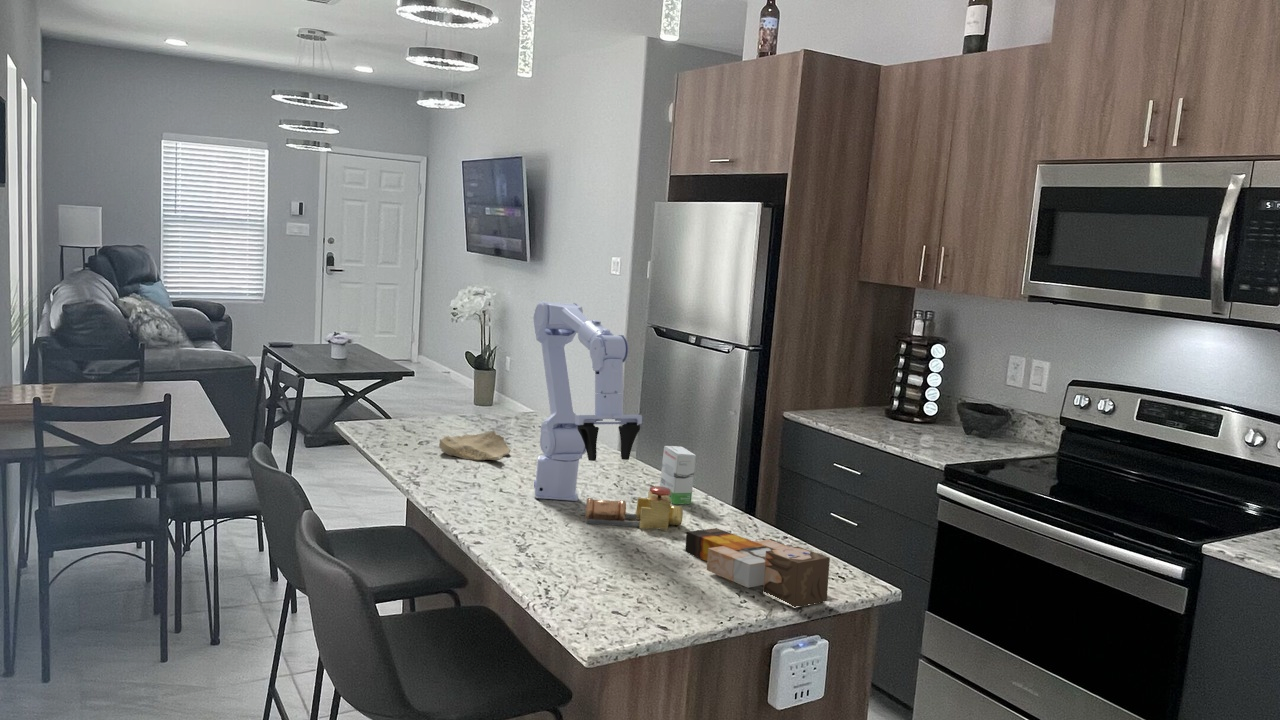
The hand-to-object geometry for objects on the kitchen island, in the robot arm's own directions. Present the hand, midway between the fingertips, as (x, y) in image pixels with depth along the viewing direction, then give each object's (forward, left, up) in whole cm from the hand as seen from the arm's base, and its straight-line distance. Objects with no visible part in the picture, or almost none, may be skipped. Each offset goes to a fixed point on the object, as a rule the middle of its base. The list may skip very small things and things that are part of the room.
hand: (608, 460), depth 191 cm
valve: (+12, +3, -14) cm, 18 cm away
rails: (+2, +3, -14) cm, 14 cm away
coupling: (+1, +3, -14) cm, 14 cm away
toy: (+26, -24, -14) cm, 38 cm away
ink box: (+19, +23, -14) cm, 33 cm away
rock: (-27, +50, -14) cm, 58 cm away
